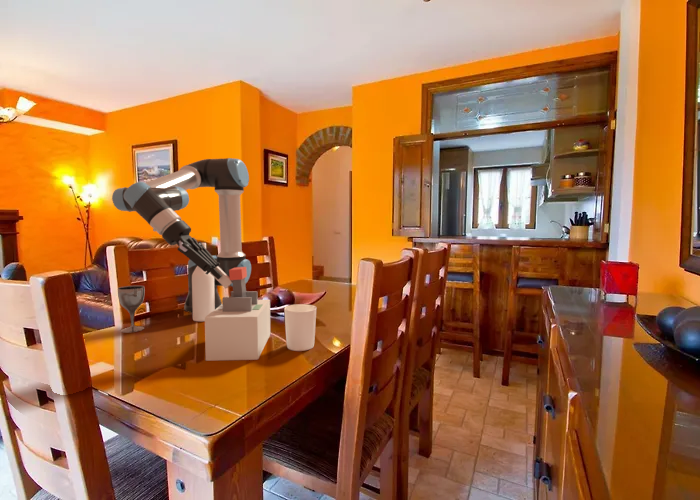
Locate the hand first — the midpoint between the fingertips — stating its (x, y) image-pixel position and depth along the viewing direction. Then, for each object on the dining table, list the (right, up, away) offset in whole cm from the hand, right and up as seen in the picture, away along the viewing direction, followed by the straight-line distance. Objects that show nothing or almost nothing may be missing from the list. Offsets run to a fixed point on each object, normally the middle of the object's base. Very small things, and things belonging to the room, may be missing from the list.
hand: (229, 285), depth 102 cm
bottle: (-22, -17, +33) cm, 43 cm away
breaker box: (+3, -19, +3) cm, 19 cm away
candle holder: (+21, -19, +3) cm, 28 cm away
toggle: (+3, -6, +2) cm, 7 cm away
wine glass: (-41, -18, +18) cm, 48 cm away
